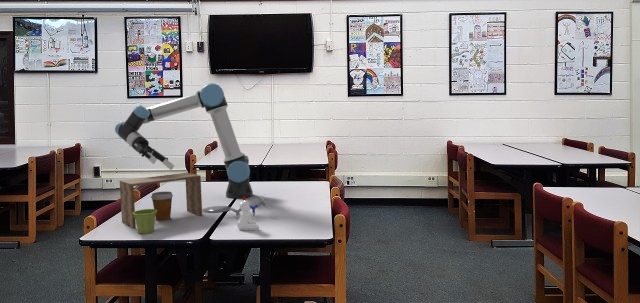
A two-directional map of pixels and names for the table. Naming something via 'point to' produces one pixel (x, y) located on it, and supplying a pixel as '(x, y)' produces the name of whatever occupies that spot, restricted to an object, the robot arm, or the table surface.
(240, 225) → the white creature statuette
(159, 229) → the table surface
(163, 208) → the disposable coffee cup
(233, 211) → the molecular model
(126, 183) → the walnut shelf
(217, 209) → the slate coaster
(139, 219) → the plant pot
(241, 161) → the robot arm
